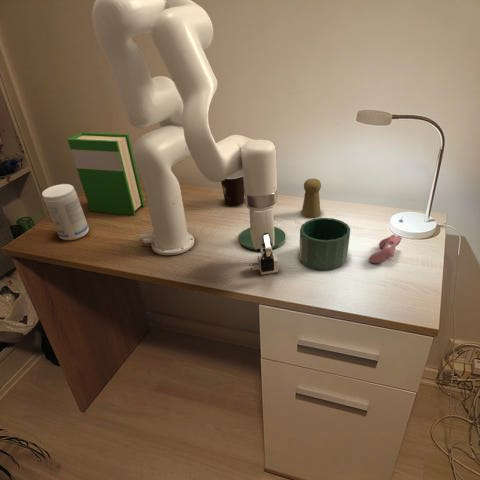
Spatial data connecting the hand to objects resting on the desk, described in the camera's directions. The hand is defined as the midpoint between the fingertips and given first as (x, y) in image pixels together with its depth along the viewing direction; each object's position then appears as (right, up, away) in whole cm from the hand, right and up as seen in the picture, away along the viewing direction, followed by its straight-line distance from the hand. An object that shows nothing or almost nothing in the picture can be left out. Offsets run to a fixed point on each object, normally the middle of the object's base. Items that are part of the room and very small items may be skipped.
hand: (264, 260), depth 107 cm
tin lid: (0, +9, +14) cm, 17 cm away
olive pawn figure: (+16, +19, +25) cm, 35 cm away
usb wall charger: (0, -3, +2) cm, 3 cm away
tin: (+16, +2, +5) cm, 17 cm away
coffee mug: (-8, +26, +37) cm, 46 cm away
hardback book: (-49, +24, +38) cm, 67 cm away
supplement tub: (-59, +12, +25) cm, 66 cm away
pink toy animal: (+32, +2, +4) cm, 33 cm away
